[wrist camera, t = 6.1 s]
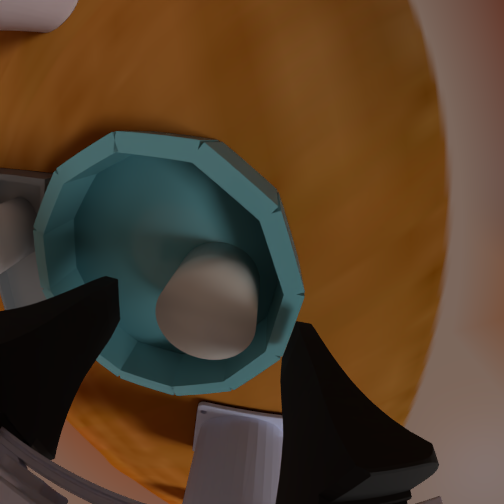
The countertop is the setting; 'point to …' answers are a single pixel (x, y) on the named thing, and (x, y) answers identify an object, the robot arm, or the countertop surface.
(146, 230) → the bowl
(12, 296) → the parts tray
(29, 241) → the white pebble
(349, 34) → the countertop surface
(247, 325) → the pale stone
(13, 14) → the smoothie
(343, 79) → the countertop surface
